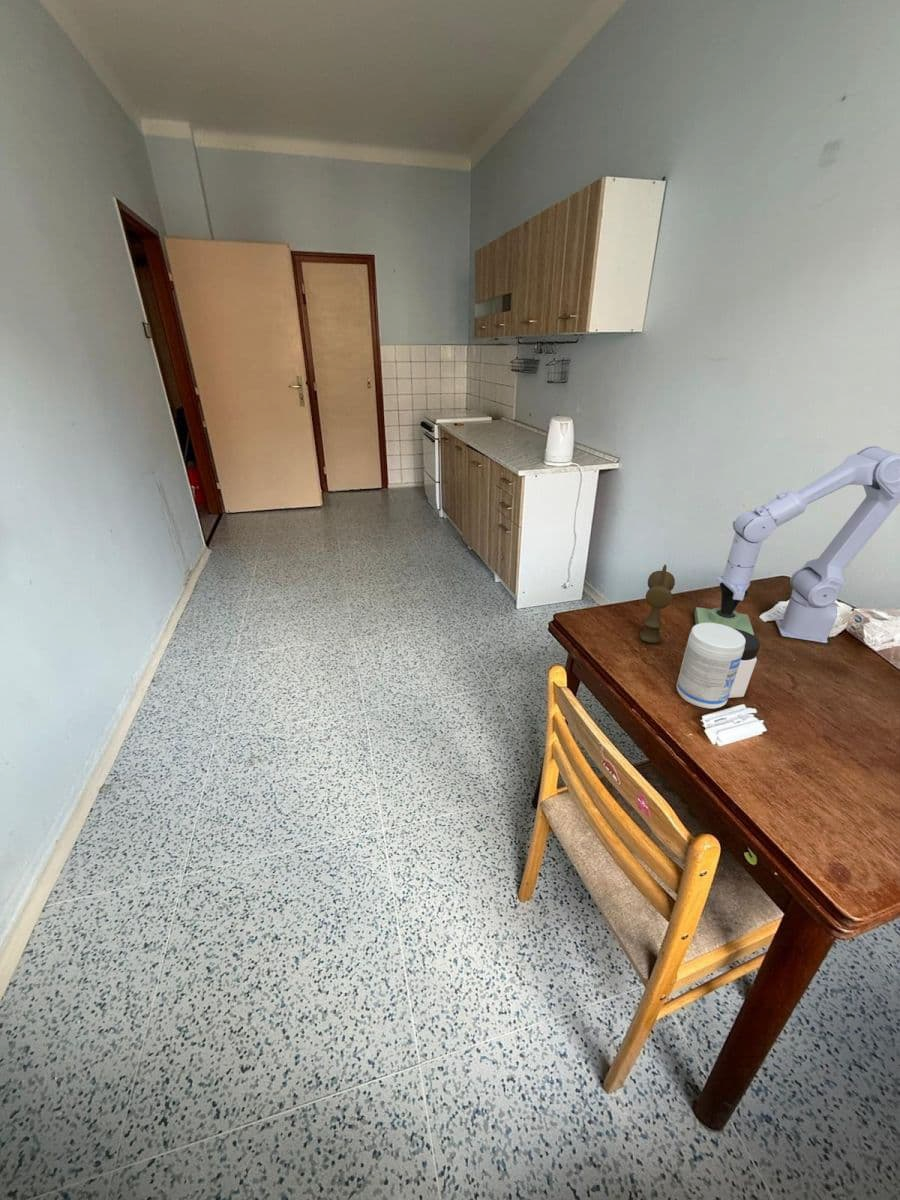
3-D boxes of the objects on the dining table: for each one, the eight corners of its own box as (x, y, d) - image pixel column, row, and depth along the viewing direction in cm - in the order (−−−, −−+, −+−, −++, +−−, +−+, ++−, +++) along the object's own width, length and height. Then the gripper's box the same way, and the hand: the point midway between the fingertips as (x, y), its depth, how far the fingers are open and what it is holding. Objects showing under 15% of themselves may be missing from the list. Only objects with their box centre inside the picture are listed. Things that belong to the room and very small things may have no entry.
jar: (753, 689, 98) (770, 641, 92) (733, 705, 94) (750, 655, 88) (711, 668, 104) (725, 622, 99) (690, 682, 100) (704, 635, 95)
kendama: (663, 632, 118) (680, 558, 109) (661, 652, 110) (679, 575, 101) (638, 627, 120) (652, 554, 111) (634, 646, 113) (649, 570, 103)
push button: (731, 616, 119) (733, 610, 118) (733, 623, 116) (735, 617, 115) (715, 614, 120) (717, 608, 119) (716, 621, 117) (718, 614, 117)
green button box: (745, 622, 122) (750, 608, 120) (751, 642, 113) (756, 627, 111) (694, 614, 126) (697, 601, 124) (696, 633, 117) (700, 619, 115)
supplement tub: (729, 715, 91) (751, 653, 84) (676, 704, 94) (692, 643, 87) (723, 685, 99) (743, 626, 92) (674, 676, 102) (689, 618, 95)
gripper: (718, 549, 118) (705, 597, 125) (725, 572, 106) (710, 624, 113) (750, 553, 116) (735, 601, 122) (761, 577, 104) (744, 629, 110)
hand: (725, 612), depth 117 cm, fingers closed, pressing on push button
